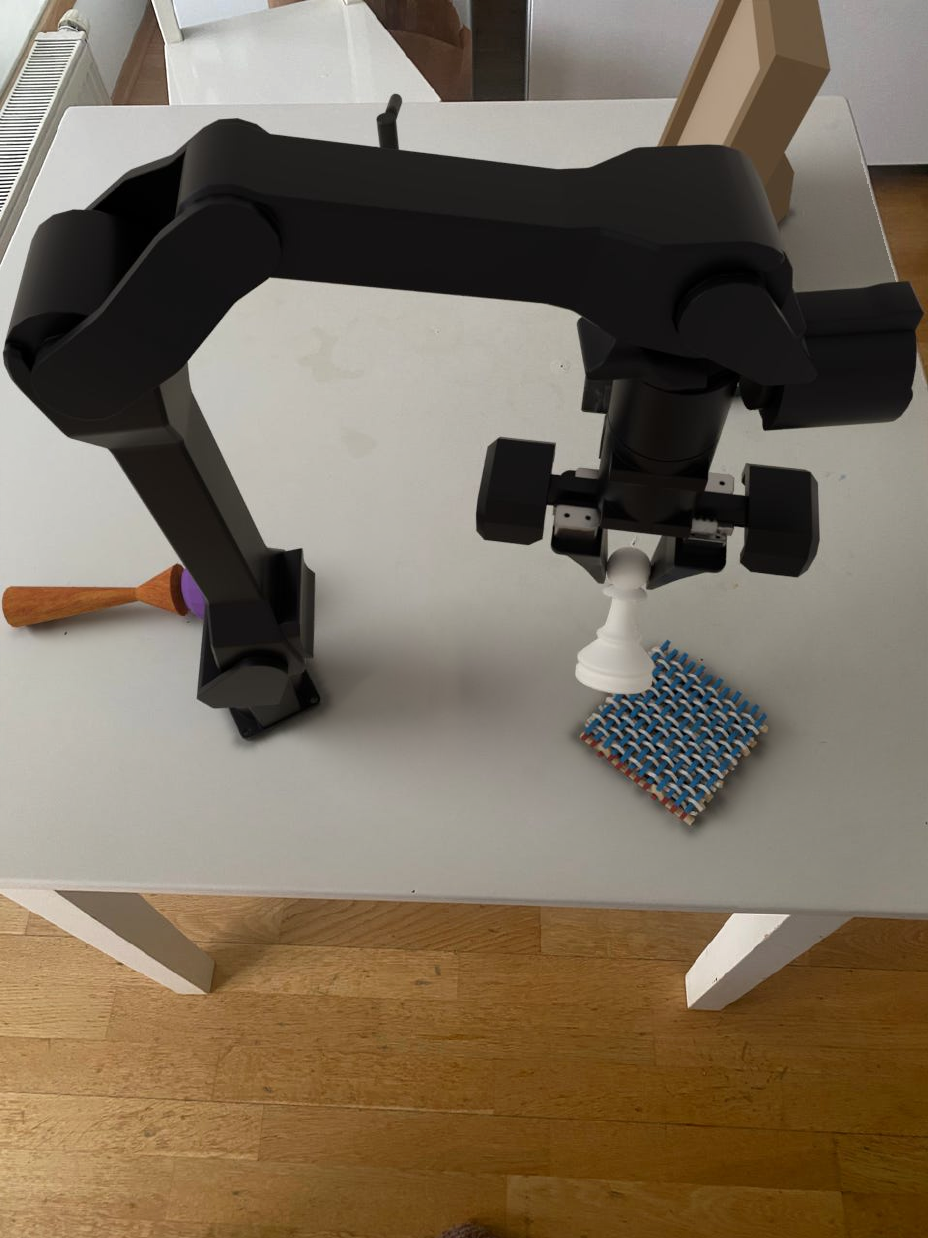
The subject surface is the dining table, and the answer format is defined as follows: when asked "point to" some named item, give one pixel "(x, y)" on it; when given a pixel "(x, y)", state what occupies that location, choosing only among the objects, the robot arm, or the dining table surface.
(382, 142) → the post stand
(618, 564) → the chess pawn
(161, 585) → the kendama
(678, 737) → the woven mat
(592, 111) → the dining table surface
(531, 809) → the dining table surface
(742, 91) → the photo frame
